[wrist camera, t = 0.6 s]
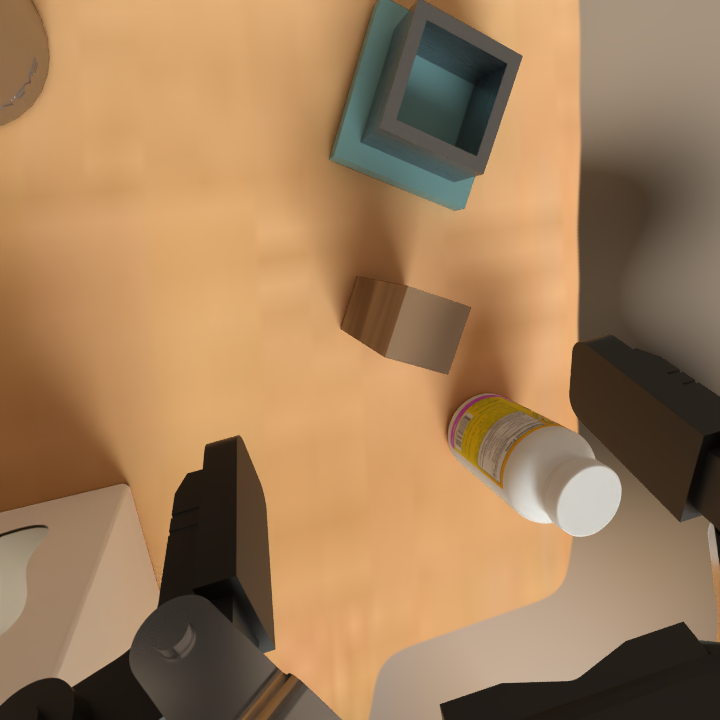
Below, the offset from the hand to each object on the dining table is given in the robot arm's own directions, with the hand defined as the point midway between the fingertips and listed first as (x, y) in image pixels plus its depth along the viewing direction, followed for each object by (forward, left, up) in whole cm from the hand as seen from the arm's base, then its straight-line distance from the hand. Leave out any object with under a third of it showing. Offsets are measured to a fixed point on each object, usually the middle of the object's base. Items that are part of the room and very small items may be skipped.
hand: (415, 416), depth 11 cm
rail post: (+5, +4, -24) cm, 25 cm away
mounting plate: (-2, +16, -24) cm, 29 cm away
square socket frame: (-2, +16, -23) cm, 28 cm away
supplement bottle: (+19, +3, -24) cm, 31 cm away
